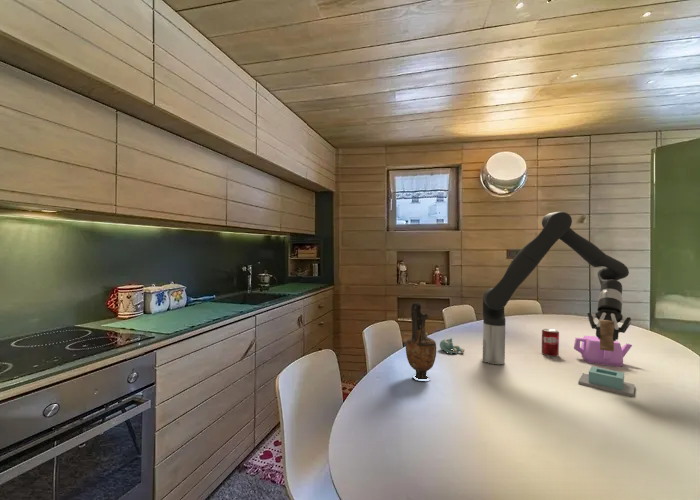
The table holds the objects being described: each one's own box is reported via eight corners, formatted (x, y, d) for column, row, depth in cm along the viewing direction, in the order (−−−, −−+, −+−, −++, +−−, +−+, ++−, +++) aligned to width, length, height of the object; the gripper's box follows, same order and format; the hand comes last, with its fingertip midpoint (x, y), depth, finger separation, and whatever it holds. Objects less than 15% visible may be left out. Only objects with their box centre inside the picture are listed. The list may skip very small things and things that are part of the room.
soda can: (561, 357, 159) (561, 332, 159) (544, 356, 160) (545, 331, 160) (555, 353, 166) (555, 329, 166) (539, 352, 167) (539, 328, 167)
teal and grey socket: (578, 383, 127) (578, 370, 127) (582, 375, 136) (583, 363, 136) (633, 396, 116) (633, 382, 116) (634, 386, 125) (634, 373, 125)
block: (600, 349, 126) (600, 320, 126) (600, 348, 128) (601, 319, 128) (613, 351, 124) (613, 322, 124) (613, 350, 125) (614, 321, 125)
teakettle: (570, 357, 159) (571, 332, 159) (592, 354, 166) (593, 329, 166) (610, 369, 144) (611, 341, 144) (633, 365, 151) (633, 337, 151)
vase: (441, 378, 129) (442, 301, 129) (424, 387, 120) (426, 304, 120) (415, 370, 137) (416, 298, 137) (397, 378, 128) (399, 301, 128)
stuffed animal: (463, 345, 157) (438, 337, 163) (460, 360, 157) (435, 351, 163) (468, 340, 166) (444, 332, 172) (464, 354, 167) (441, 346, 173)
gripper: (587, 295, 136) (582, 329, 127) (633, 298, 127) (631, 336, 118) (589, 306, 140) (584, 340, 131) (633, 310, 131) (631, 348, 122)
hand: (606, 338), depth 124 cm, fingers closed on block, 4 cm apart
